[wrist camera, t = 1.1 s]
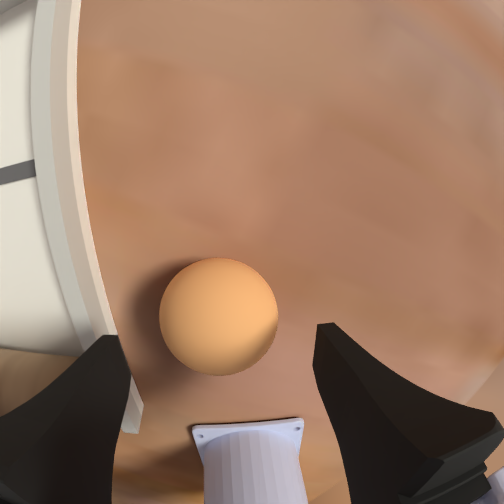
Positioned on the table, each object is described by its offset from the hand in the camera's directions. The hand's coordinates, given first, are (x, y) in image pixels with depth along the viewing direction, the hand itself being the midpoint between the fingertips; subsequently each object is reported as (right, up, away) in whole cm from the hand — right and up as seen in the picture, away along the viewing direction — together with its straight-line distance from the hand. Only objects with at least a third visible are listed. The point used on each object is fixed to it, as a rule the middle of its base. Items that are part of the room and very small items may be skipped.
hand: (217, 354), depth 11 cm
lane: (-12, +5, +2) cm, 14 cm away
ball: (0, +1, +2) cm, 3 cm away
